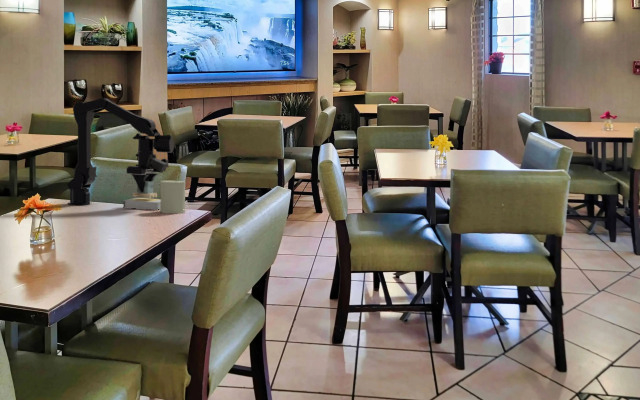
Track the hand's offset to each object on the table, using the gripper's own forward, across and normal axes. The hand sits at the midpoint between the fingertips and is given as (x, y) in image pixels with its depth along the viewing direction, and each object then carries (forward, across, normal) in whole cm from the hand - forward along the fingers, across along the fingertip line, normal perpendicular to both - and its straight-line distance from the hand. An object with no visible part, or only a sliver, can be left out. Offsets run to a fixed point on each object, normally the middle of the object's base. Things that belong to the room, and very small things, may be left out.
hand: (145, 191), depth 232 cm
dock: (+6, 0, -1) cm, 6 cm away
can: (+6, -7, -15) cm, 18 cm away
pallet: (+2, 0, 0) cm, 2 cm away
